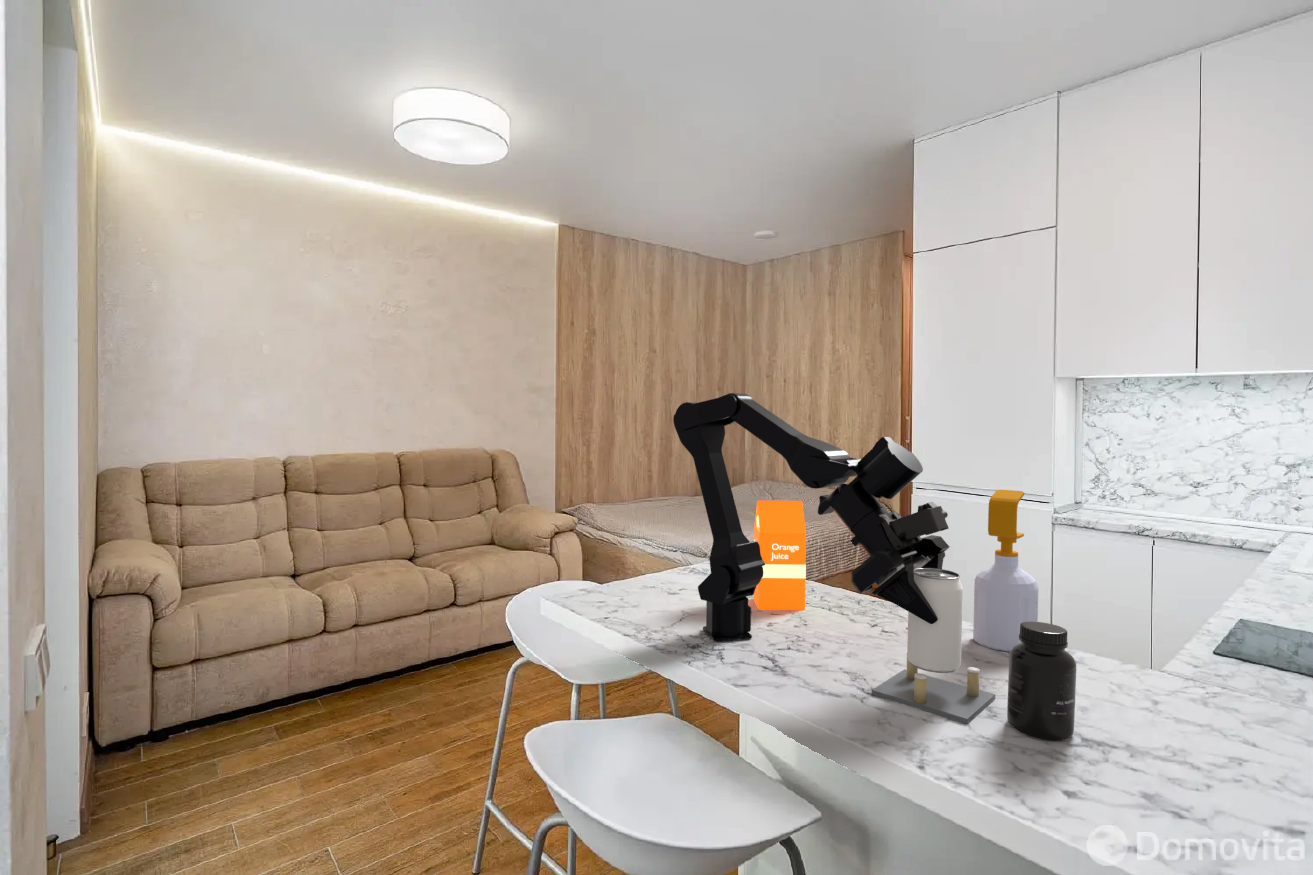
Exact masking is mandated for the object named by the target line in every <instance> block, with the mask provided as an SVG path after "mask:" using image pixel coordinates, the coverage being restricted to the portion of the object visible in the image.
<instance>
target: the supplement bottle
mask: <svg viewBox="0 0 1313 875" xmlns="http://www.w3.org/2000/svg"><path fill="white" fill-rule="evenodd" d="M1019 640H1020V641H1021V644H1018V645H1016V646H1014V647H1013V648H1012V649H1011V651H1010V652H1009V654H1008V656H1009V657H1008V676H1007V677H1008V679H1007V680H1008V681H1007V704H1006V705H1007V709H1006V710H1007V711H1006V714H1007V715H1006V718H1007V719H1006V720H1007V721H1008V724H1009V725H1010V726H1011V728H1013V729H1014V730H1015V731H1017V732H1019V733H1020V734H1023V735H1024V736H1028V737H1031V738H1034V739H1039V740H1042V741H1043V740H1044V741H1048V742H1049V741H1050V742H1063V741H1066V740H1068V739H1070V738H1071V737H1073V735H1074V733H1075V732H1074V731H1075V717H1076V716H1075V714H1076V712H1075V710H1076V691H1077V686H1076V685H1077V661H1076V660H1075V658H1074V657H1073V656H1072V655H1071V654H1070V653H1069V652H1068V651H1067V650H1066V649H1067V648H1068V645H1069V644H1068V643H1069V642H1068V630H1067V629H1066V628H1064V627H1062V626H1060V625H1057V624H1053V623H1049V622H1048V623H1047V622H1042V621H1041V622H1040V621H1037V622H1023V623H1021V624H1020V634H1019Z"/></svg>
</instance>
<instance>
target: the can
mask: <svg viewBox="0 0 1313 875" xmlns="http://www.w3.org/2000/svg"><path fill="white" fill-rule="evenodd" d="M960 578H961V575H960V573H957V572H955V571H952V570H947V569H943V568H942V569H934V568H920V569H915V570H914V581H915V583H916V584H917V586H918V587H919V589H920V591H921V592H922V594H923V595H924V597H925V598H926V600H927V601H928V603H929V604H930V606H931V607H932V609H933V611H934V613H935V614H936V616H937V618H938V620H937V621H936V622H935V623H933V624H930V623H928V622H926V621H924V620H922V619H921V618H919V617H917V616H915V615H914V614H912V613H910V612H908V611H907V614H908V615H907V616H908V617H907V619H908V620H907V641H906V642H907V643H906V644H907V645H906V646H907V647H906V649H907V651H906V660H907V659H908V660H909V662H910V663H911V664H912V665H913V666H915V667H917V668H918V669H919V670H922V671H926V672H930V673H935V674H949V673H955V672H956V671H957V670H959V669H960V668H961V663H962V645H963V644H962V642H963V640H962V638H963V637H962V636H963V608H964V607H963V604H964V603H963V602H964V588H963V587H964V586H963V585H962V582H961V580H960Z"/></svg>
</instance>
